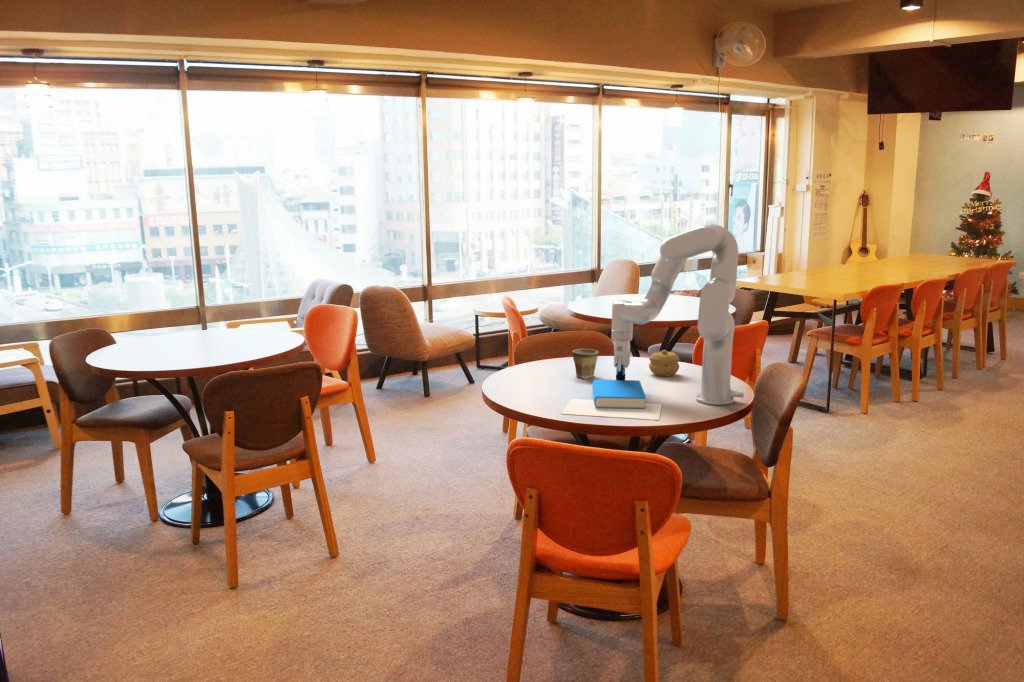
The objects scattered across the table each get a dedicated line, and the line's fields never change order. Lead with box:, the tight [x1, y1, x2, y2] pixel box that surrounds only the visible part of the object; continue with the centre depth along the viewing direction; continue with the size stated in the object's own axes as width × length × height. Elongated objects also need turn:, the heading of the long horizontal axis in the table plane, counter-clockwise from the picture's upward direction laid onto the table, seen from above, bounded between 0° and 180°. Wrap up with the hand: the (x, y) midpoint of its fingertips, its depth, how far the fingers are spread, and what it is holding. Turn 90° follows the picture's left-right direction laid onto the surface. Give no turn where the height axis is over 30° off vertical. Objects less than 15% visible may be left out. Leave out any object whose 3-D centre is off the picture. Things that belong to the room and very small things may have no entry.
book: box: [591, 379, 647, 409], centre depth 275 cm, size 17×4×25 cm
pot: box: [648, 349, 680, 377], centre depth 311 cm, size 12×12×10 cm
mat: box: [561, 398, 663, 421], centre depth 263 cm, size 31×19×1 cm, turn 77°
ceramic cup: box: [572, 348, 599, 379], centre depth 310 cm, size 13×10×10 cm
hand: (620, 384), depth 289 cm, fingers closed
